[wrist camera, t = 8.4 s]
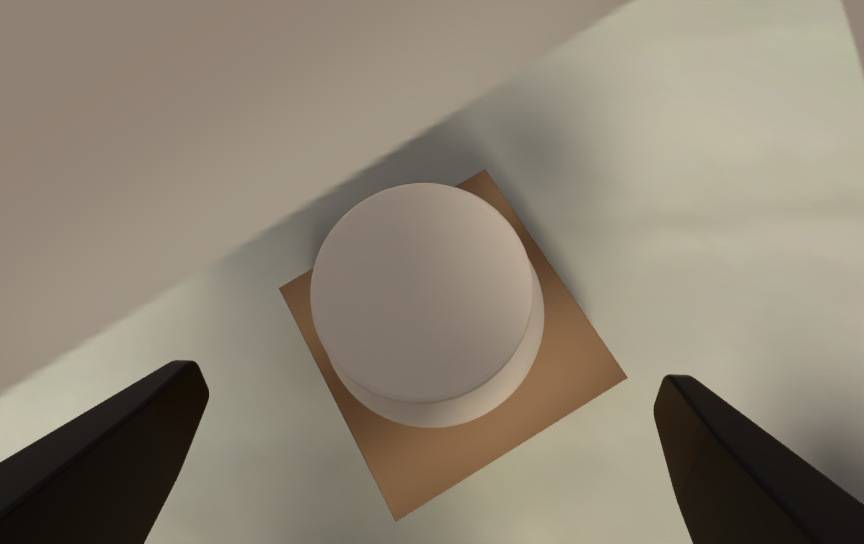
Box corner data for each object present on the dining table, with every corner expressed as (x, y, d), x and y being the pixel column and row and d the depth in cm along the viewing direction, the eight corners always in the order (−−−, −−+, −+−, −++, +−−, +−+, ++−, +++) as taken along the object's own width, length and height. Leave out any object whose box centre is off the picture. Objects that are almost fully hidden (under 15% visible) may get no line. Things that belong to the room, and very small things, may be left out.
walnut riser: (595, 376, 20) (627, 377, 16) (409, 491, 19) (395, 521, 16) (481, 205, 22) (485, 169, 18) (312, 303, 22) (279, 288, 18)
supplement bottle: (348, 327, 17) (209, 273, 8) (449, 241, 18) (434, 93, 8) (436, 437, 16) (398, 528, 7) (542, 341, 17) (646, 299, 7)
